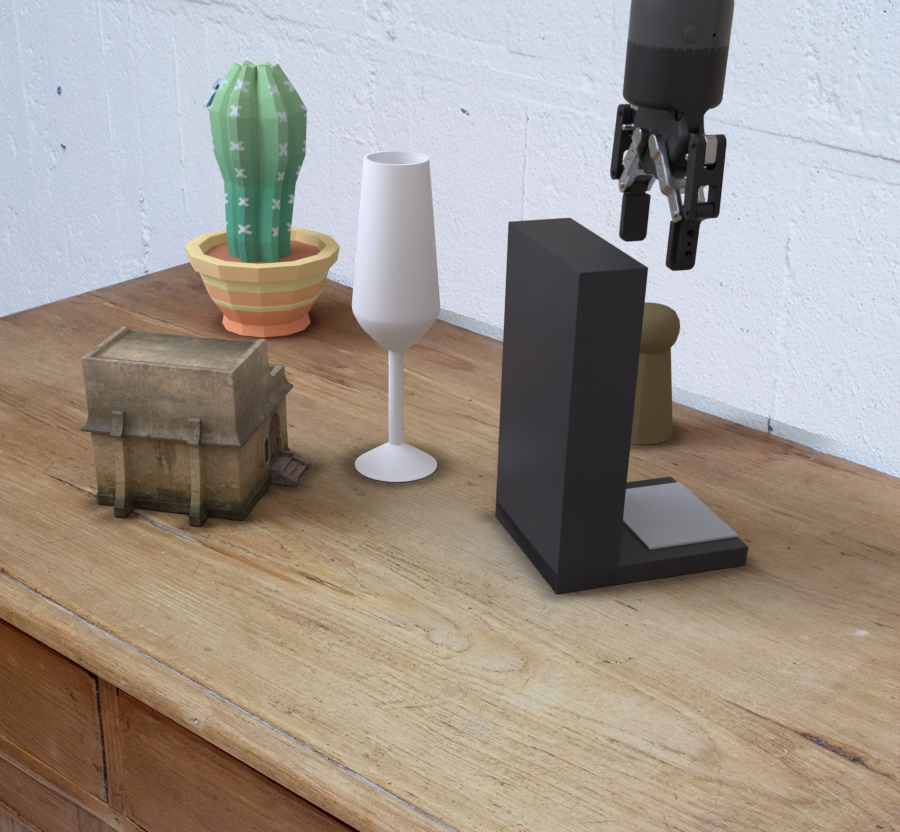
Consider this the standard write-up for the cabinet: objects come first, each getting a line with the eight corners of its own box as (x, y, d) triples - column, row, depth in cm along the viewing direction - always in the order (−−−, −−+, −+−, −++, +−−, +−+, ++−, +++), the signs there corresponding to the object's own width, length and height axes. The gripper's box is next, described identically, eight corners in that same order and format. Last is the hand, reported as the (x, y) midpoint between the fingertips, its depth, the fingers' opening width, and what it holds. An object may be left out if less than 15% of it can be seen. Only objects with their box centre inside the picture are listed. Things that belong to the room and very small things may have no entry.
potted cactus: (342, 299, 143) (336, 52, 130) (341, 348, 129) (335, 78, 117) (198, 299, 142) (179, 50, 129) (182, 348, 128) (159, 76, 116)
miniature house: (263, 534, 95) (254, 385, 89) (82, 512, 98) (62, 366, 92) (322, 451, 108) (317, 316, 102) (160, 434, 110) (147, 301, 104)
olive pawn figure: (616, 412, 117) (627, 290, 111) (681, 425, 114) (696, 302, 109) (592, 436, 112) (602, 310, 106) (660, 450, 110) (674, 322, 104)
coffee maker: (669, 493, 103) (702, 208, 91) (745, 565, 93) (794, 256, 82) (495, 516, 98) (508, 221, 87) (556, 594, 89) (579, 272, 78)
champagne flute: (371, 442, 110) (369, 144, 98) (448, 454, 108) (455, 152, 96) (341, 474, 104) (334, 163, 92) (421, 487, 103) (425, 171, 90)
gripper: (773, 50, 92) (740, 277, 101) (680, 23, 104) (657, 228, 112) (677, 51, 90) (652, 283, 99) (593, 24, 102) (576, 233, 110)
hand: (655, 254), depth 105 cm, fingers open, 8 cm apart
